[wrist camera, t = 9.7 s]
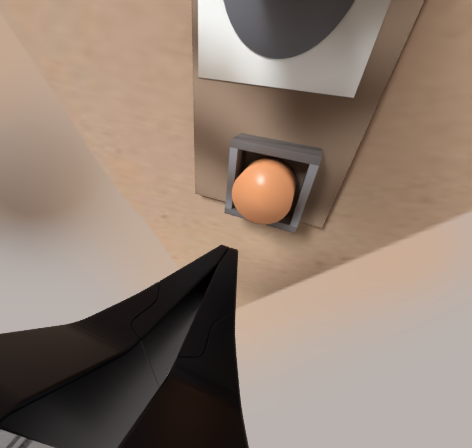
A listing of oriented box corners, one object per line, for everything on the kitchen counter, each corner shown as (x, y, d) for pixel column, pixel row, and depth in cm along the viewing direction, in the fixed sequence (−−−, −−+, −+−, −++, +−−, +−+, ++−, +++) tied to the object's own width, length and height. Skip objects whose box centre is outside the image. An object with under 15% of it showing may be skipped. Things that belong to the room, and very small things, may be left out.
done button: (247, 150, 16) (234, 161, 13) (303, 162, 15) (300, 176, 13) (241, 199, 18) (229, 215, 16) (288, 212, 17) (283, 230, 15)
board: (195, -260, 9) (145, -399, 6) (581, -364, 6) (766, -685, 4) (199, 190, 22) (183, 203, 19) (322, 223, 19) (322, 243, 16)
